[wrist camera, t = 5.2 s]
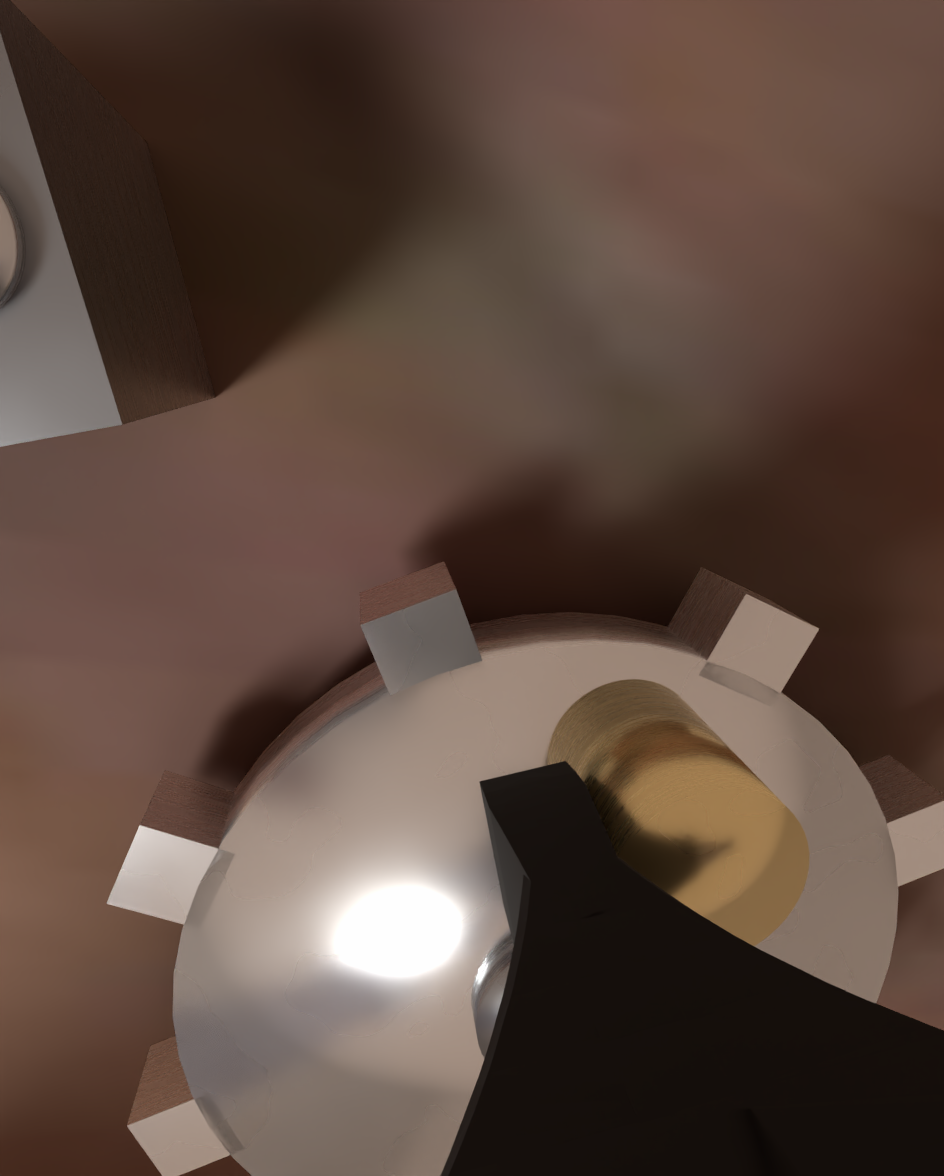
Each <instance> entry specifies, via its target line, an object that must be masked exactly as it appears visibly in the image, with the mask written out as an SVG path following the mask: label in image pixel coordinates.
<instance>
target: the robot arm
mask: <svg viewBox="0 0 944 1176" xmlns="http://www.w3.org/2000/svg"><path fill="white" fill-rule="evenodd" d="M479 783H480V788H481V793H482V798H483V803H484V808H485V813H486V818H487V824H488V829H489V834H490V839H491V844H492V849H493V854H494V859H495V864H496V869H497V875H498V880H499V885H500V890H501V895H502V900H503V905H504V909H505V913H506V917H507V921H508V924H509V928H510V932H511V936H512V940H513V944H514V947H513V952H512V957H511V962H510V966H509V971H508V975H507V979H506V984H505V988H504V992H503V996H502V1000H501V1003H500V1007H499V1010H498V1014H497V1018H496V1021H495V1025H494V1028H493V1032H492V1036H491V1039H490V1043H489V1046H488V1049H487V1052H486V1055H485V1058H484V1062H483V1065H482V1068H481V1071H480V1074H479V1077H478V1079H477V1082H476V1085H475V1087H474V1090H473V1093H472V1095H471V1098H470V1101H469V1103H468V1106H467V1109H466V1111H465V1114H464V1117H463V1119H462V1122H461V1125H460V1127H459V1130H458V1133H457V1135H456V1138H455V1141H454V1143H453V1146H452V1149H451V1151H450V1154H449V1156H448V1159H447V1161H446V1163H445V1166H444V1168H443V1171H442V1173H441V1175H440V1176H944V1031H943V1030H941V1029H938V1028H935V1027H933V1026H930V1025H928V1024H925V1023H923V1022H920V1021H918V1020H915V1019H913V1018H910V1017H908V1016H905V1015H903V1014H900V1013H898V1012H895V1011H893V1010H890V1009H888V1008H885V1007H883V1006H880V1005H878V1004H876V1003H873V1002H871V1001H868V1000H866V999H863V998H861V997H859V996H856V995H854V994H852V993H850V992H847V991H845V990H843V989H841V988H838V987H836V986H834V985H832V984H829V983H827V982H825V981H823V980H821V979H819V978H817V977H815V976H813V975H811V974H809V973H807V972H805V971H803V970H801V969H799V968H797V967H795V966H792V965H790V964H788V963H786V962H784V961H782V960H780V959H778V958H776V957H774V956H772V955H770V954H768V953H766V952H764V951H762V950H760V949H758V948H756V947H754V946H753V945H751V944H749V943H747V942H745V941H744V940H742V939H740V938H738V937H736V936H734V935H733V934H731V933H729V932H728V931H726V930H724V929H723V928H721V927H719V926H718V925H716V924H715V923H713V922H711V921H710V920H708V919H706V918H705V917H703V916H701V915H700V914H698V913H697V912H695V911H693V910H692V909H690V908H689V907H687V906H686V905H684V904H683V903H681V902H680V901H678V900H677V899H675V898H674V897H672V896H671V895H670V894H668V893H667V892H665V891H664V890H662V889H661V888H660V887H658V886H657V885H655V884H654V883H653V882H651V881H650V880H649V879H647V878H646V877H644V876H643V875H642V874H640V873H639V872H637V871H636V870H635V869H634V868H632V867H631V866H630V865H628V864H627V863H626V862H625V861H623V860H622V859H621V858H619V857H618V856H617V854H616V852H615V850H614V847H613V845H612V843H611V841H610V838H609V836H608V834H607V831H606V829H605V827H604V825H603V822H602V820H601V818H600V815H599V813H598V811H597V809H596V806H595V804H594V802H593V800H592V798H591V795H590V793H589V791H588V789H587V787H586V785H585V783H584V782H583V780H582V779H581V778H580V777H579V775H578V774H577V773H576V771H575V770H574V769H573V768H572V767H571V766H570V765H569V764H568V763H567V762H566V761H563V762H559V763H555V764H550V765H546V766H542V767H538V768H534V769H529V770H525V771H521V772H517V773H513V774H508V775H504V776H500V777H496V778H492V779H487V780H483V781H479Z"/></svg>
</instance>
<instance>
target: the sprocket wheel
mask: <svg viewBox="0 0 944 1176" xmlns="http://www.w3.org/2000/svg"><path fill="white" fill-rule="evenodd" d="M360 625H361V628H362V630H363V633H364V635H365V637H366V640H367V642H368V644H369V647H370V649H371V652H372V654H373V656H374V659H375V662H374V663H372V664H370V665H369V666H367V667H365V668H364V669H362V670H360V671H359V672H357V673H355V674H354V675H352V676H351V677H349V678H347V679H346V680H344V681H342V682H341V683H339V684H337V685H336V686H335V687H333V688H332V689H331V690H330V691H328V692H327V693H326V694H325V695H323V696H322V697H321V698H319V699H318V700H317V701H316V702H314V703H313V704H312V705H311V706H309V707H308V708H307V709H306V710H304V711H303V712H302V713H301V714H299V715H298V716H297V717H296V718H295V719H294V720H293V721H292V722H291V723H290V724H289V725H288V726H287V727H286V728H285V729H284V730H283V731H282V732H281V733H280V735H279V736H278V737H277V738H276V739H275V740H274V741H273V742H272V743H271V744H270V745H269V746H268V747H267V748H266V749H265V750H264V751H263V753H262V754H261V755H260V757H259V758H258V759H257V761H256V762H255V763H254V765H253V766H252V768H251V769H250V770H249V772H248V773H247V774H246V776H245V777H244V778H243V780H242V781H241V782H240V784H239V785H238V786H237V788H236V790H235V792H231V791H228V790H225V789H222V788H219V787H215V786H212V785H209V784H206V783H203V782H200V781H197V780H194V779H191V778H187V777H184V776H181V775H178V774H175V773H172V772H169V771H166V770H165V771H164V773H163V776H162V778H161V780H160V782H159V784H158V786H157V789H156V791H155V793H154V795H153V797H152V800H151V802H150V804H149V806H148V808H147V810H146V813H145V815H144V817H143V819H142V821H141V824H140V826H139V828H138V831H137V833H136V835H135V838H134V840H133V842H132V845H131V847H130V849H129V852H128V854H127V856H126V859H125V861H124V863H123V866H122V868H121V871H120V873H119V875H118V878H117V880H116V882H115V885H114V887H113V889H112V892H111V894H110V896H109V899H108V901H107V904H110V905H114V906H117V907H121V908H125V909H129V910H132V911H136V912H140V913H143V914H147V915H151V916H155V917H158V918H162V919H166V920H169V921H173V922H177V923H180V924H184V925H183V929H182V933H181V938H180V944H179V949H178V954H177V959H176V964H175V970H174V980H173V1022H174V1028H175V1035H176V1036H174V1037H171V1038H169V1039H166V1040H163V1041H161V1042H158V1043H156V1044H153V1045H151V1046H150V1049H149V1052H148V1056H147V1059H146V1063H145V1066H144V1069H143V1073H142V1076H141V1079H140V1083H139V1086H138V1090H137V1093H136V1096H135V1100H134V1103H133V1106H132V1110H131V1113H130V1117H129V1120H128V1123H127V1127H128V1128H129V1130H130V1131H131V1133H132V1134H133V1135H134V1137H135V1138H136V1140H137V1141H138V1142H139V1144H140V1145H141V1147H142V1148H143V1149H144V1151H145V1152H146V1154H147V1155H148V1156H149V1158H150V1159H151V1161H152V1162H153V1163H154V1165H155V1166H156V1168H157V1169H158V1170H159V1172H160V1173H161V1175H162V1176H179V1175H182V1174H184V1173H187V1172H189V1171H192V1170H194V1169H197V1168H199V1167H202V1166H204V1165H207V1164H209V1163H212V1162H214V1161H217V1160H219V1159H222V1158H224V1157H227V1156H229V1155H231V1156H232V1157H233V1158H234V1160H236V1161H237V1162H238V1163H239V1164H240V1165H241V1166H242V1167H243V1168H244V1169H245V1170H246V1171H247V1172H248V1173H250V1174H251V1175H252V1176H440V1175H441V1173H442V1171H443V1168H444V1166H445V1163H446V1161H447V1159H448V1156H449V1154H450V1151H451V1149H452V1146H453V1143H454V1141H455V1138H456V1135H457V1133H458V1130H459V1127H460V1125H461V1122H462V1119H463V1117H464V1114H465V1111H466V1109H467V1106H468V1103H469V1101H470V1098H471V1095H472V1093H473V1090H474V1087H475V1085H476V1082H477V1079H478V1077H479V1074H480V1071H481V1068H482V1065H483V1062H484V1058H485V1055H486V1052H487V1049H488V1046H489V1043H490V1039H491V1036H492V1032H493V1028H494V1025H495V1021H496V1018H497V1014H498V1010H499V1007H500V1003H501V1000H502V996H503V992H504V988H505V984H506V979H507V975H508V971H509V966H510V962H511V957H512V952H513V947H514V944H513V940H512V936H511V932H510V928H509V924H508V921H507V917H506V913H505V909H504V905H503V900H502V895H501V890H500V885H499V880H498V875H497V869H496V864H495V859H494V854H493V849H492V844H491V839H490V834H489V829H488V824H487V818H486V813H485V808H484V803H483V798H482V793H481V788H480V783H479V781H483V780H487V779H492V778H496V777H500V776H504V775H508V774H513V773H517V772H521V771H525V770H529V769H534V768H538V767H542V766H546V765H550V764H555V763H559V762H563V761H566V762H567V763H568V764H569V765H570V766H571V767H572V768H573V769H574V770H575V771H576V773H577V774H578V775H579V777H580V778H581V779H582V780H583V782H584V783H585V785H586V787H587V789H588V791H589V793H590V795H591V798H592V800H593V802H594V804H595V806H596V809H597V811H598V813H599V815H600V818H601V820H602V822H603V825H604V827H605V829H606V831H607V834H608V836H609V838H610V841H611V843H612V845H613V847H614V850H615V852H616V854H617V856H618V857H619V858H621V859H622V860H623V861H625V862H626V863H627V864H628V865H630V866H631V867H632V868H634V869H635V870H636V871H637V872H639V873H640V874H642V875H643V876H644V877H646V878H647V879H649V880H650V881H651V882H653V883H654V884H655V885H657V886H658V887H660V888H661V889H662V890H664V891H665V892H667V893H668V894H670V895H671V896H672V897H674V898H675V899H677V900H678V901H680V902H681V903H683V904H684V905H686V906H687V907H689V908H690V909H692V910H693V911H695V912H697V913H698V914H700V915H701V916H703V917H705V918H706V919H708V920H710V921H711V922H713V923H715V924H716V925H718V926H719V927H721V928H723V929H724V930H726V931H728V932H729V933H731V934H733V935H734V936H736V937H738V938H740V939H742V940H744V941H745V942H747V943H749V944H751V945H753V946H754V947H756V948H758V949H760V950H762V951H764V952H766V953H768V954H770V955H772V956H774V957H776V958H778V959H780V960H782V961H784V962H786V963H788V964H790V965H792V966H795V967H797V968H799V969H801V970H803V971H805V972H807V973H809V974H811V975H813V976H815V977H817V978H819V979H821V980H823V981H825V982H827V983H829V984H832V985H834V986H836V987H838V988H841V989H843V990H845V991H847V992H850V993H852V994H854V995H856V996H859V997H861V998H863V999H866V1000H868V1001H871V1002H873V1003H876V1002H877V1000H878V997H879V994H880V991H881V988H882V985H883V982H884V979H885V976H886V973H887V971H888V968H889V964H890V959H891V954H892V949H893V944H894V939H895V934H896V929H897V910H898V886H901V885H903V884H906V883H908V882H911V881H913V880H916V879H918V878H921V877H923V876H926V875H928V874H931V873H933V872H936V871H938V870H941V869H943V868H944V795H942V794H941V793H940V792H938V791H937V790H936V789H934V788H933V787H932V786H930V785H929V784H928V783H926V782H925V781H924V780H922V779H921V778H920V777H918V776H917V775H916V774H914V773H913V772H911V771H910V770H909V769H907V768H906V767H905V766H903V765H902V764H901V763H899V762H898V761H897V760H895V759H894V758H893V757H891V756H890V755H887V756H884V757H882V758H879V759H877V760H874V761H872V762H869V763H866V764H864V765H861V766H859V767H858V766H857V764H856V763H855V761H854V760H853V758H852V757H851V755H850V754H849V752H848V751H847V750H846V749H845V748H844V747H843V746H842V745H841V744H840V743H839V742H838V741H837V739H836V738H835V737H834V736H833V735H832V734H831V733H830V732H829V731H828V730H827V729H826V728H825V727H824V726H823V725H822V724H821V723H820V722H819V721H818V720H817V719H815V718H814V717H813V716H812V715H810V714H809V713H808V712H807V711H805V710H804V709H803V708H801V707H800V706H799V705H798V704H796V703H795V702H794V701H792V700H791V699H790V698H789V697H787V696H786V695H785V694H783V693H782V692H781V691H782V690H783V688H784V686H785V685H786V683H787V681H788V680H789V678H790V676H791V675H792V673H793V671H794V670H795V668H796V667H797V665H798V663H799V662H800V660H801V658H802V657H803V655H804V653H805V652H806V650H807V648H808V647H809V645H810V644H811V642H812V640H813V639H814V637H815V635H816V634H817V632H818V630H819V628H817V627H815V626H814V625H812V624H810V623H808V622H807V621H805V620H803V619H802V618H800V617H798V616H796V615H795V614H793V613H791V612H790V611H788V610H786V609H784V608H783V607H781V606H779V605H778V604H776V603H774V602H772V601H771V600H769V599H767V598H765V597H763V596H761V595H759V594H757V593H755V592H753V591H750V590H748V589H746V588H744V587H742V586H740V585H738V584H736V583H734V582H732V581H730V580H728V579H725V578H723V577H721V576H719V575H717V574H715V573H713V572H711V571H709V570H707V569H705V568H702V567H701V568H700V570H699V572H698V574H697V575H696V577H695V579H694V581H693V583H692V584H691V586H690V588H689V590H688V591H687V593H686V595H685V597H684V599H683V600H682V602H681V604H680V606H679V607H678V609H677V611H676V613H675V615H674V616H673V618H672V620H671V622H670V624H669V625H668V627H666V626H664V625H660V624H655V623H651V622H646V621H641V620H637V619H632V618H627V617H622V616H617V615H604V614H591V613H578V612H561V613H542V614H523V615H517V616H512V617H506V618H501V619H495V620H489V621H484V622H478V623H473V624H470V625H469V623H468V620H467V617H466V615H465V612H464V609H463V606H462V604H461V601H460V598H459V596H458V593H457V590H456V588H455V585H454V583H453V581H452V579H451V576H450V574H449V572H448V570H447V567H446V565H445V563H444V561H443V562H440V563H438V564H435V565H432V566H430V567H427V568H424V569H422V570H419V571H416V572H414V573H411V574H408V575H406V576H403V577H400V578H398V579H395V580H392V581H390V582H387V583H384V584H382V585H379V586H376V587H373V588H371V589H368V590H365V591H363V592H360Z"/></svg>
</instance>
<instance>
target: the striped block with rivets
mask: <svg viewBox="0 0 944 1176" xmlns="http://www.w3.org/2000/svg"><path fill="white" fill-rule="evenodd" d="M212 398H215V394H214V390H213V386H212V382H211V379H210V375H209V371H208V368H207V364H206V360H205V356H204V353H203V349H202V345H201V342H200V338H199V334H198V330H197V327H196V323H195V319H194V316H193V312H192V308H191V304H190V301H189V297H188V293H187V290H186V286H185V282H184V278H183V275H182V271H181V267H180V264H179V260H178V256H177V253H176V249H175V245H174V241H173V238H172V234H171V230H170V227H169V223H168V219H167V215H166V212H165V208H164V204H163V201H162V197H161V193H160V189H159V186H158V182H157V178H156V175H155V171H154V167H153V163H152V160H151V156H150V152H149V149H148V145H147V142H146V141H145V140H144V139H143V138H142V137H141V136H140V135H139V134H138V133H137V132H136V131H135V129H134V128H133V127H132V126H131V125H130V124H129V123H128V122H127V121H126V120H125V119H124V118H123V117H122V116H121V115H120V114H119V113H118V112H117V111H116V110H115V109H114V108H113V107H112V106H111V105H110V104H109V102H108V101H107V100H106V99H105V98H104V97H103V96H102V95H101V94H100V93H99V92H98V91H97V90H96V89H95V88H94V87H93V86H92V85H91V84H90V83H89V82H88V81H87V80H86V79H85V78H84V77H83V76H82V74H81V73H80V72H79V71H78V70H77V69H76V68H75V67H74V66H73V65H72V64H71V63H70V62H69V61H68V60H67V59H66V58H65V57H64V56H63V55H62V54H61V53H60V52H59V51H58V50H57V49H56V47H55V46H54V45H53V44H52V43H51V42H50V41H49V40H48V39H47V38H46V37H45V36H44V35H43V34H42V33H41V32H40V31H39V30H38V29H37V28H36V27H35V26H34V25H33V24H32V23H31V22H30V21H29V19H28V18H27V17H26V16H25V15H24V14H23V13H22V12H21V11H20V10H19V9H18V8H17V7H16V6H15V5H14V4H13V3H12V2H11V1H10V0H0V447H1V446H7V445H12V444H18V443H23V442H29V441H34V440H40V439H45V438H51V437H56V436H62V435H67V434H73V433H78V432H84V431H89V430H95V429H101V428H106V427H112V426H117V425H123V424H126V423H129V422H133V421H136V420H140V419H143V418H147V417H150V416H154V415H157V414H160V413H164V412H167V411H171V410H174V409H178V408H181V407H184V406H188V405H191V404H195V403H198V402H202V401H205V400H209V399H212Z"/></svg>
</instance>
